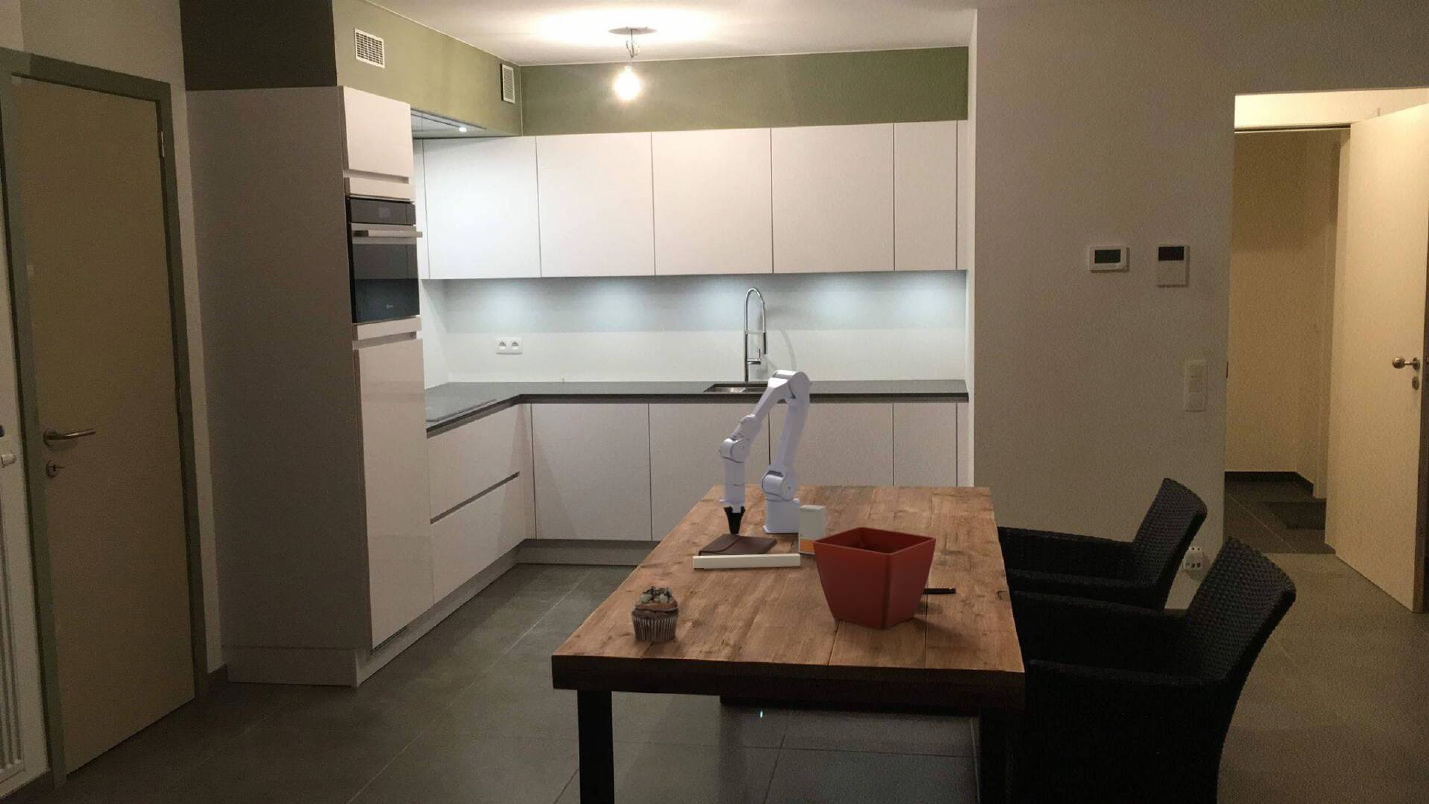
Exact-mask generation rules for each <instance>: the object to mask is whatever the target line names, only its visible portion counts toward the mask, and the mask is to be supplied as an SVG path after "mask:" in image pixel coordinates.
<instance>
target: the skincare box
mask: <svg viewBox="0 0 1429 804" xmlns="http://www.w3.org/2000/svg"><path fill="white" fill-rule="evenodd" d="M826 530H827V506H825V505H816V504H802V505H800V507H799V533H798V538H797V539H798V543H797V544H798V546H797V547H798V548H797V549H798V550H797V551H798V553H797V554H807V555H814V556H815V553H814V546H813V541H814V540H818V539H821V538H824V537H827V531H826Z"/></svg>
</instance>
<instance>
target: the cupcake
mask: <svg viewBox="0 0 1429 804" xmlns="http://www.w3.org/2000/svg"><path fill="white" fill-rule="evenodd" d="M634 607H635V608H634V609H633V610H632V611H631V612H630V616H631V621H632V625H633V626H632V627H633V630H634V634H635V635H634V636H635V638H636V639H637V640H638V641H641V642H645V643H661V642H667V641H670V640H673V639H674V638H675V636H676V633H677V632H676V631H677V627H678V626H677V625H678V620H679V616H680V614H679V612H680V609H679V608H678V607H679V603H678V601H677V600H676V598H675V597H674V596H673V590H672V588H669V587H668V586H666V587H660V588H659V589H656V587H655V586H653V585H651V587H650V588H649V589H647V590H646V591H642V595H640V597H639V598H638V599H637V600H636V601H635V604H634Z"/></svg>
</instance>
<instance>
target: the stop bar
mask: <svg viewBox="0 0 1429 804" xmlns="http://www.w3.org/2000/svg"><path fill="white" fill-rule="evenodd" d="M800 554H801V553H773V554H772V553H771V554H769V553H768V554H767V553H766V554H765V553H763V554H762V555H723V556H701V555H700V556H699V555H693V556H692V569H694V568H704V569H733V568H734V569H736V568H742V569H743V568H772V567H773V568H775V567H776V568H777V567H778V568H780V567H800V566H801V555H800Z"/></svg>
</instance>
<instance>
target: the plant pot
mask: <svg viewBox="0 0 1429 804" xmlns="http://www.w3.org/2000/svg"><path fill="white" fill-rule="evenodd" d="M936 542H937V538H936V537H933V536H925V535H920V534H914V533H907V532H901V531H896V530H887V529H882V528H881V529H880V528H874V527H868V526H867V527H866V526H858V527H855V528H851V529H848V530H844V531H841V532H838V533H835V534H831V535H829V536H826V537H824V538H821V539H818V540H814V541H813V546H814V553H815V555H814V559H815V563H816V569H817V572H818V577H819V580H820V584H821V587H822V591H823V594H824V597H825V600H826V603H827V605H828V608H829V611H830V614H831V616H832V618H833V619H834V620H838V621H843V622H848V623H852V624H856V625H861V626H867V627H870V626H871V628H874V629H875V628H877V629H879V630H880V629H883V630H884V629H889V628H891V627H894V626H895V625H898V624H899V623H901V622H904V620H905V621H907V620H909V619H911V618H914V617H915V615H916V613H917V610H918V608H919V605H920V603H921V599H922V597H923V594H924V592H925V589H926V585H927V582H928V579H929V576H930V572H931V567H932V563H933V560H934V556H935V555H934V554H935V550H936Z"/></svg>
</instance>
